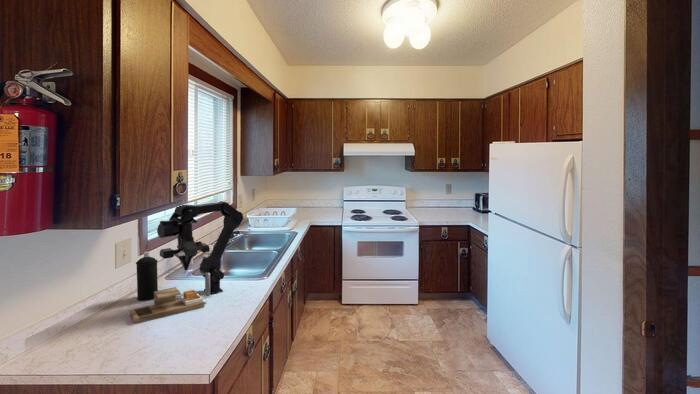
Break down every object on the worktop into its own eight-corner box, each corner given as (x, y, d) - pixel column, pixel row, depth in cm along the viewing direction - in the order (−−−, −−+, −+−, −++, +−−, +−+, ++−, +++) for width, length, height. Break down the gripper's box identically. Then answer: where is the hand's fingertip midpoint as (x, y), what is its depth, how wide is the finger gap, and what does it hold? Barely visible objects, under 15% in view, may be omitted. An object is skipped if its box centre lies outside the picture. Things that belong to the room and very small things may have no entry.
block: (183, 300, 149) (183, 291, 148) (193, 298, 152) (193, 289, 151) (186, 304, 146) (186, 294, 146) (196, 301, 149) (196, 292, 148)
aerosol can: (157, 299, 154) (156, 254, 152) (135, 302, 151) (133, 255, 149) (159, 293, 162) (158, 249, 160) (138, 295, 159) (137, 250, 157)
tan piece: (129, 314, 139) (128, 295, 138) (196, 299, 155) (196, 282, 155) (134, 323, 132) (133, 303, 131) (204, 307, 148) (204, 289, 147)
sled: (180, 300, 149) (180, 275, 148) (207, 294, 157) (207, 270, 155) (186, 305, 145) (185, 280, 143) (213, 299, 152) (212, 274, 150)
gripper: (167, 240, 140) (168, 279, 142) (214, 234, 153) (215, 270, 155) (158, 235, 148) (159, 272, 150) (204, 230, 161) (204, 264, 163)
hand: (185, 270), depth 154 cm, fingers closed
